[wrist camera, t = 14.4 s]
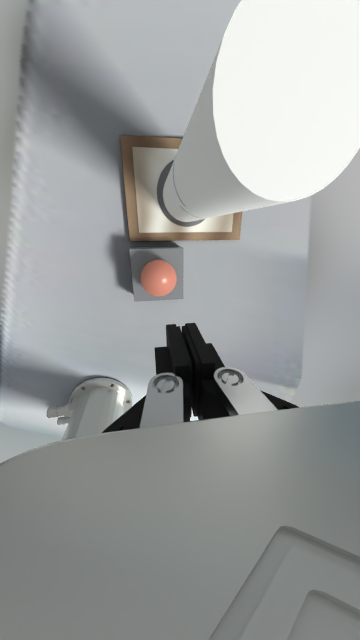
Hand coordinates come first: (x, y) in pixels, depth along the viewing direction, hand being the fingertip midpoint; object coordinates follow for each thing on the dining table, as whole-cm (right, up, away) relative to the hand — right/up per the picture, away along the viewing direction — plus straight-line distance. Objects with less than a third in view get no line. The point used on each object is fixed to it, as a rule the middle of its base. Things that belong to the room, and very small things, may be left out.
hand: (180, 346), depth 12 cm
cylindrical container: (+1, +20, +19) cm, 28 cm away
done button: (-4, +9, +21) cm, 23 cm away
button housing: (-4, +10, +23) cm, 26 cm away
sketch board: (+1, +21, +20) cm, 29 cm away
